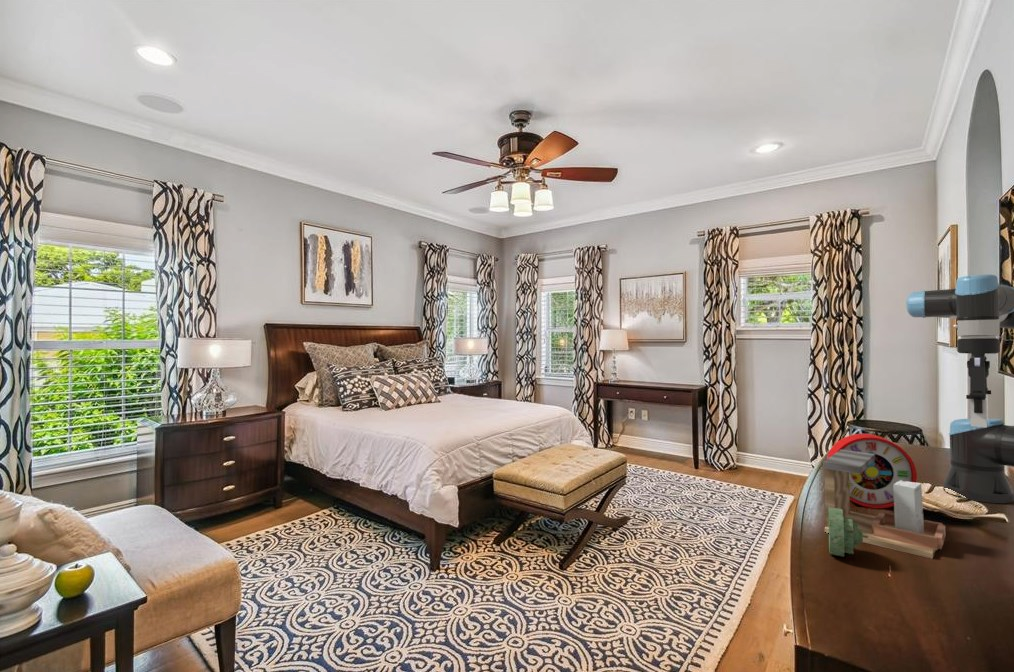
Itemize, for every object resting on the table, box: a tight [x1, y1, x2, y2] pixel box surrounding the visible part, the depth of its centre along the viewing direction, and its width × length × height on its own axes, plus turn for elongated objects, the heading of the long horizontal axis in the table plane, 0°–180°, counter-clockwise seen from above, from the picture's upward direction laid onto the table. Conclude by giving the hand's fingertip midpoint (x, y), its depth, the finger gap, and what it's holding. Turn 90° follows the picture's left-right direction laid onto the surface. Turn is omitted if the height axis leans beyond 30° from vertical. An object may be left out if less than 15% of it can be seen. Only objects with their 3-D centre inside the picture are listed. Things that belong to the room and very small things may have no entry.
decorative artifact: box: [828, 507, 868, 558], centre depth 105 cm, size 10×7×10 cm
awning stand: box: [822, 450, 947, 560], centre depth 116 cm, size 18×21×18 cm
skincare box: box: [893, 480, 924, 534], centre depth 113 cm, size 6×4×12 cm
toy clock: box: [826, 433, 918, 509], centre depth 137 cm, size 20×6×20 cm, turn 68°
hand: (979, 423), depth 117 cm, fingers open, 13 cm apart
